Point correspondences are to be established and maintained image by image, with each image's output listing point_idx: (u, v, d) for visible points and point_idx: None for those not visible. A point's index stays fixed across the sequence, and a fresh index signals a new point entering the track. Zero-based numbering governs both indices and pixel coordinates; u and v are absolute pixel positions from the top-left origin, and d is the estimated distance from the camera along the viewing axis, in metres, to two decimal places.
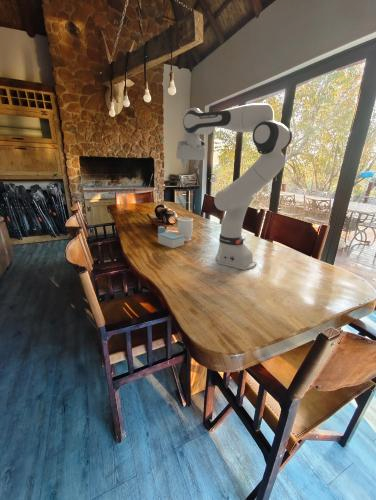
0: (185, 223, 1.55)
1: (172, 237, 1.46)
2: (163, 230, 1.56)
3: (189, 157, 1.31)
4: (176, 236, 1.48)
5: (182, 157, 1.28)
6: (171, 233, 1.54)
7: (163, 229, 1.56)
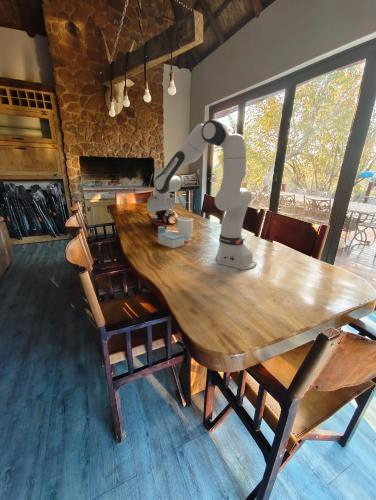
0: (185, 223, 1.55)
1: (172, 237, 1.46)
2: (163, 230, 1.56)
3: (159, 209, 1.49)
4: (176, 236, 1.48)
5: (152, 210, 1.45)
6: (171, 233, 1.54)
7: (163, 229, 1.56)
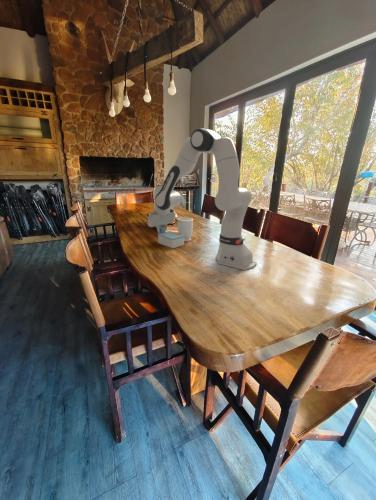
0: (185, 223, 1.55)
1: (172, 237, 1.46)
2: (163, 230, 1.56)
3: (159, 224, 1.52)
4: (176, 236, 1.48)
5: (153, 225, 1.49)
6: (171, 233, 1.54)
7: (163, 229, 1.56)
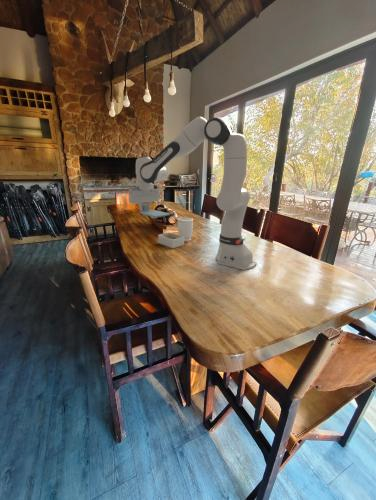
0: (185, 223, 1.55)
1: (155, 214, 1.32)
2: (146, 208, 1.42)
3: (142, 201, 1.38)
4: (160, 214, 1.34)
5: (134, 202, 1.34)
6: (155, 211, 1.40)
7: (146, 207, 1.41)
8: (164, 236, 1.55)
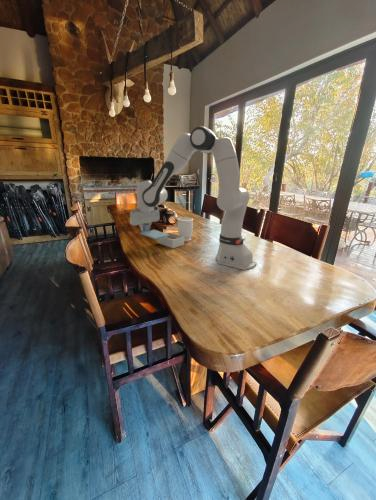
0: (185, 223, 1.55)
1: (155, 236, 1.36)
2: (147, 229, 1.46)
3: (142, 222, 1.42)
4: (160, 235, 1.39)
5: (135, 224, 1.39)
6: (155, 232, 1.45)
7: (147, 228, 1.46)
8: None
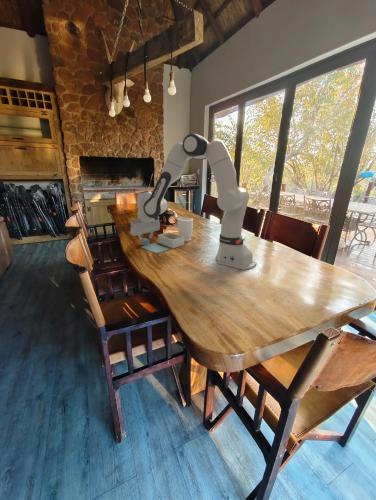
0: (185, 223, 1.55)
1: (156, 251, 1.40)
2: (147, 242, 1.49)
3: (143, 232, 1.44)
4: (160, 249, 1.42)
5: (135, 234, 1.41)
6: (155, 246, 1.48)
7: (147, 241, 1.49)
8: (164, 236, 1.55)
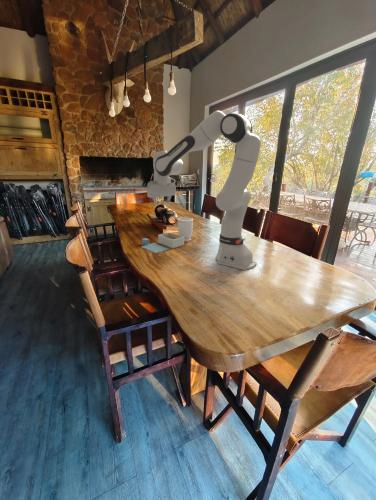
0: (185, 223, 1.55)
1: (155, 250, 1.40)
2: (147, 242, 1.49)
3: (160, 195, 1.39)
4: (160, 249, 1.42)
5: (152, 196, 1.35)
6: (155, 246, 1.48)
7: (147, 241, 1.49)
8: (164, 236, 1.55)
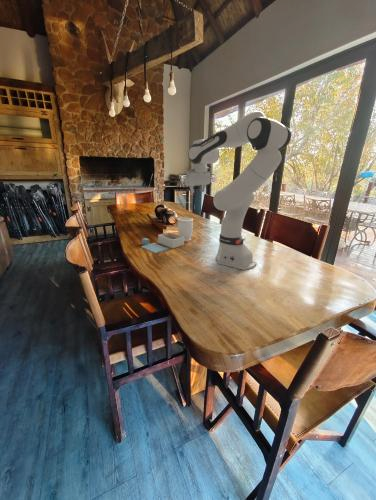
0: (185, 223, 1.55)
1: (155, 250, 1.40)
2: (147, 242, 1.50)
3: (196, 183, 1.43)
4: (159, 249, 1.42)
5: (190, 184, 1.39)
6: (155, 245, 1.48)
7: (147, 241, 1.50)
8: (164, 236, 1.55)
